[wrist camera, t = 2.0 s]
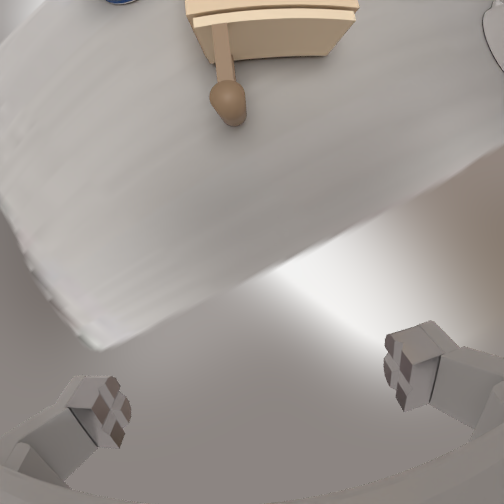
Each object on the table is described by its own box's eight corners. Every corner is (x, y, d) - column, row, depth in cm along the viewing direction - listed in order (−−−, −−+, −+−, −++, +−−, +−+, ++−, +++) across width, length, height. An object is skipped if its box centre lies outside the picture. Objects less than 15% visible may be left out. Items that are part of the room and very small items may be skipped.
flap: (325, 48, 28) (354, 10, 18) (335, 119, 31) (372, 105, 20) (209, 56, 28) (192, 16, 18) (217, 129, 31) (202, 116, 21)
